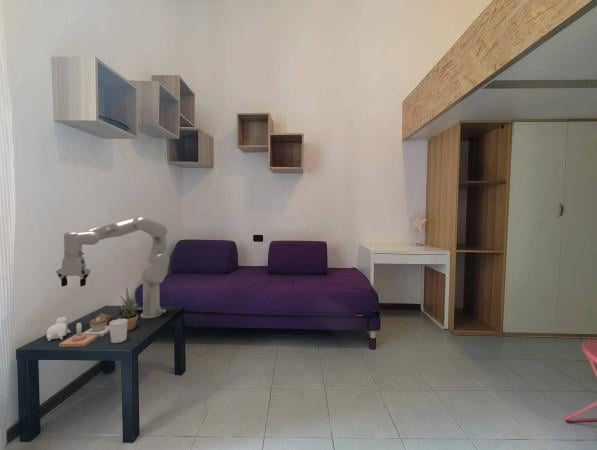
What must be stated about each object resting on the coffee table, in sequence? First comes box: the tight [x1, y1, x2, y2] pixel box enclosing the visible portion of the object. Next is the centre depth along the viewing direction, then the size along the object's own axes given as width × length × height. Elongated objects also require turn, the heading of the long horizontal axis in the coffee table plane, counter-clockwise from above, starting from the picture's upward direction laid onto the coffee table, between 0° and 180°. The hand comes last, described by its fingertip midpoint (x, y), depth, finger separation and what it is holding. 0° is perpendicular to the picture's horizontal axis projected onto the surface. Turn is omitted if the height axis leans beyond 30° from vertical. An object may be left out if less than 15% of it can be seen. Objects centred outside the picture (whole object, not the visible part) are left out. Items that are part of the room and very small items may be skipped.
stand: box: [83, 317, 110, 337], centre depth 153 cm, size 11×11×8 cm
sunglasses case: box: [94, 312, 114, 326], centre depth 169 cm, size 18×7×7 cm, turn 23°
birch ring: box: [89, 318, 108, 328], centre depth 153 cm, size 7×7×3 cm
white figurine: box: [46, 316, 72, 342], centre depth 149 cm, size 9×8×15 cm
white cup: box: [109, 318, 128, 344], centre depth 144 cm, size 8×8×10 cm
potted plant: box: [118, 286, 139, 332], centre depth 158 cm, size 10×10×25 cm
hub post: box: [58, 322, 99, 348], centre depth 141 cm, size 12×10×10 cm
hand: (73, 285), depth 150 cm, fingers open, 9 cm apart
